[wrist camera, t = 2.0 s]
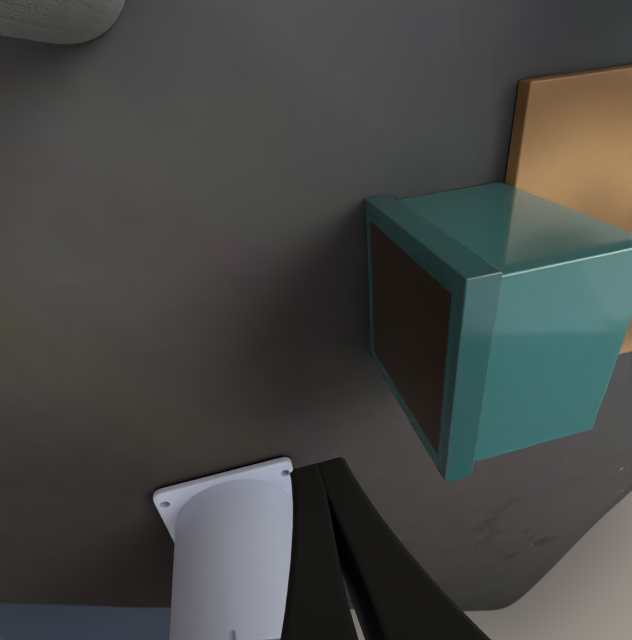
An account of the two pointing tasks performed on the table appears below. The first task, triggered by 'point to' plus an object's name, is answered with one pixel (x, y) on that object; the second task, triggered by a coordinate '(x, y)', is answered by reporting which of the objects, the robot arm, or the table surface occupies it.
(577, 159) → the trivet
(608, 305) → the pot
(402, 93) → the table surface
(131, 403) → the table surface
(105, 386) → the table surface
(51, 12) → the planter
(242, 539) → the robot arm
